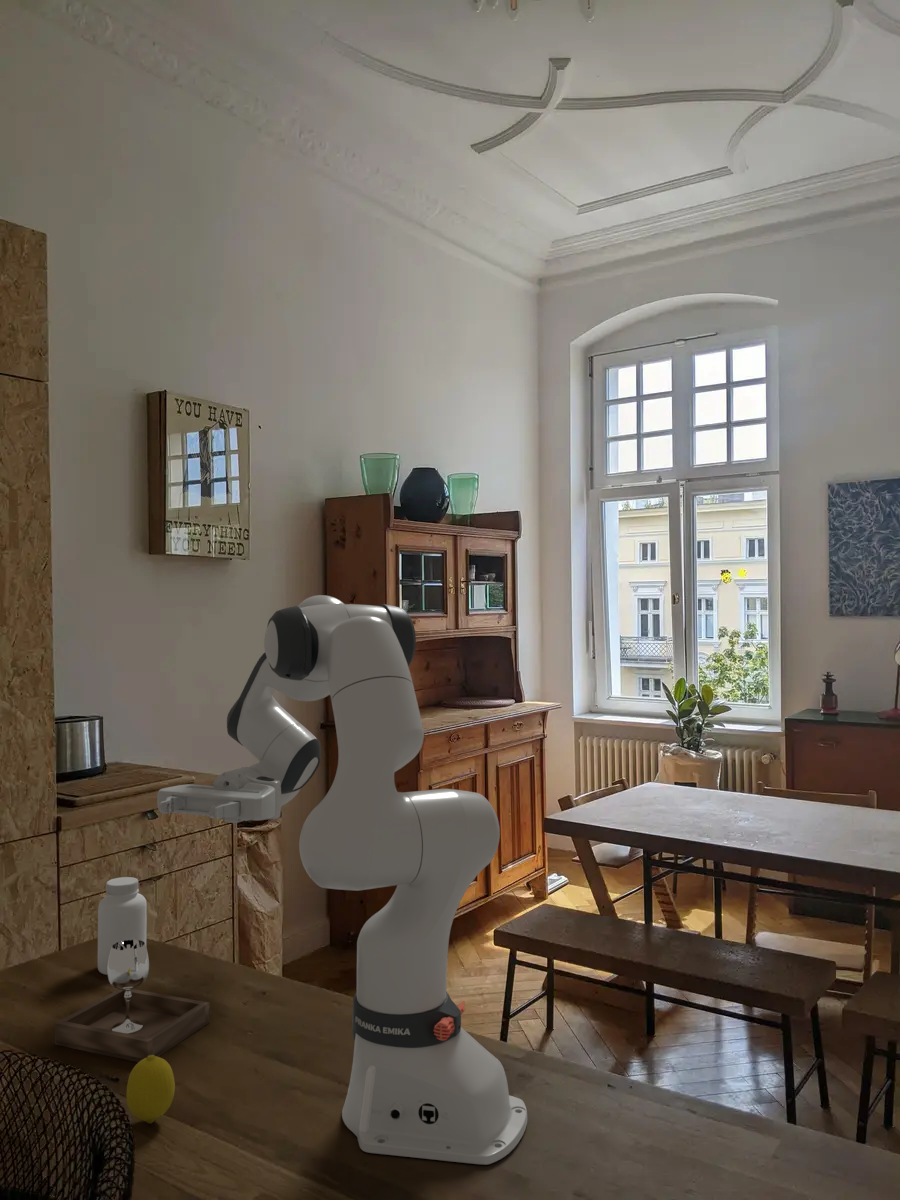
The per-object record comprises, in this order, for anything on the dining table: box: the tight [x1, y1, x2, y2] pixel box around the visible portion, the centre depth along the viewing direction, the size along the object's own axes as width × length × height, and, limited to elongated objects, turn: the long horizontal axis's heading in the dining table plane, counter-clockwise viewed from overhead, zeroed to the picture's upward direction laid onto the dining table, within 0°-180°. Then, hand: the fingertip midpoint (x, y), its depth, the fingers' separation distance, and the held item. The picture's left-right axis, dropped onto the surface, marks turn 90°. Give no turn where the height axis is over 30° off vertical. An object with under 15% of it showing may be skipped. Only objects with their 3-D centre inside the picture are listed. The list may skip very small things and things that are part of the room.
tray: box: [54, 988, 210, 1063], centre depth 137 cm, size 16×14×3 cm
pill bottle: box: [97, 876, 148, 976], centre depth 163 cm, size 8×8×15 cm
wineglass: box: [106, 939, 150, 1034], centre depth 138 cm, size 6×6×12 cm
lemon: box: [125, 1055, 176, 1124], centre depth 113 cm, size 6×6×8 cm
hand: (187, 810), depth 149 cm, fingers open, 8 cm apart
